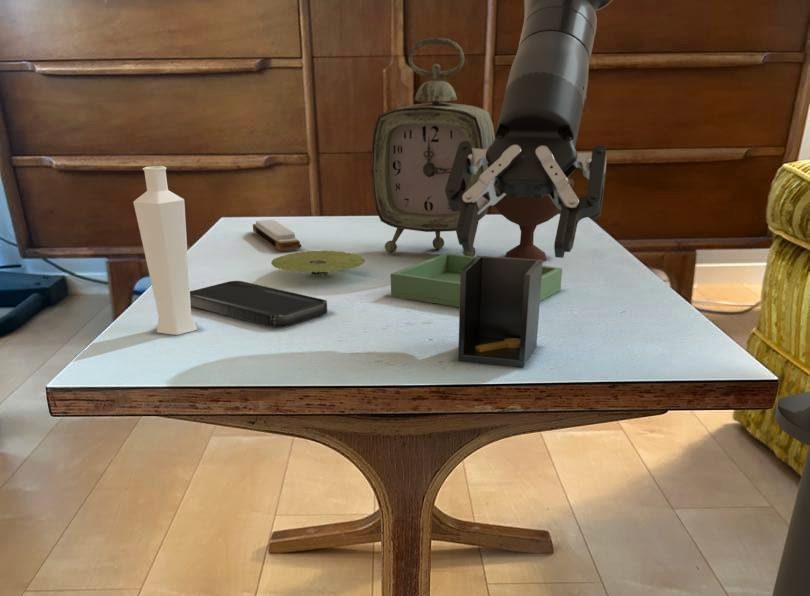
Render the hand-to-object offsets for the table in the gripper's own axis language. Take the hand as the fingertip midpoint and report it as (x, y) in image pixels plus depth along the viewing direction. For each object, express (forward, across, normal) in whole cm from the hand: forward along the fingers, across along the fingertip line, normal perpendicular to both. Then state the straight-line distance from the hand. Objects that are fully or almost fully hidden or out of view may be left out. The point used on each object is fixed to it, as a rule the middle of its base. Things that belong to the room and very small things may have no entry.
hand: (511, 249), depth 79 cm
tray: (-6, -7, +18) cm, 20 cm away
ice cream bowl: (-19, -5, +32) cm, 37 cm away
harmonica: (-20, -41, +32) cm, 56 cm away
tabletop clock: (-19, -18, +32) cm, 41 cm away
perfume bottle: (+10, -32, +2) cm, 34 cm away
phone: (+4, -28, +9) cm, 30 cm away
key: (+8, 0, +3) cm, 9 cm away
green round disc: (-7, -27, +20) cm, 34 cm away
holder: (+9, 0, +3) cm, 9 cm away
